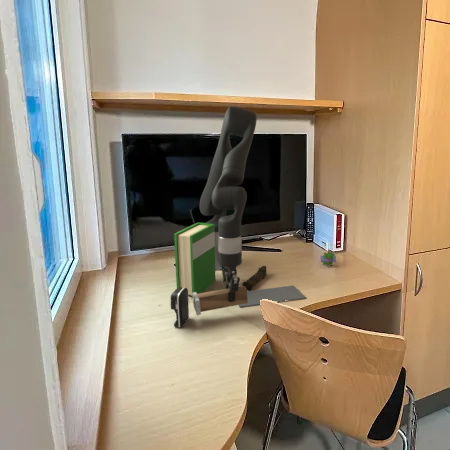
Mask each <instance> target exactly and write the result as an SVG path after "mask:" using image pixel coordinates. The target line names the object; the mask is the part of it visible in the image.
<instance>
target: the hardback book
mask: <svg viewBox="0 0 450 450" xmlns="http://www.w3.org/2000/svg"><path fill="white" fill-rule="evenodd" d="M173 239H174V241H173V242H174V259H175V261H174V262H175V275H176V276H175V277H176V279H175V281H176V282H175V283H176V289H177V288H187V289H188V296H192V297H191V299H193V294H192V293H193V292H196V293H197V294H200V293H204V291H205V290H206V289H208V288H209V287H211V285H212V284H213V283H215V282H216V270H215V232H214V224H208V223H206V222H196V223H194V224H192V225H190V226H186V227H185V228H183V229H181V230H179V231H177V232H175V233H173Z"/></svg>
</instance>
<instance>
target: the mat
mask: <svg viewBox="0 0 450 450" xmlns="http://www.w3.org/2000/svg"><path fill="white" fill-rule="evenodd" d="M305 298H306V299H307V297H306V296H305V295H304V294H303V293H302V292H301V291H300V290H299V289H298V288H297V287H296V286H295V285H287V286H278V287H269V288H263V289H251V291H247V301H248V303H245V304H240V305H238V306H239V308H246V307H255V306H261V305H260V300H262V299H268V300H272V301H278V303H281V302H280V301H285V300H293V301H295V300H294V299H300V300H306V299H305Z"/></svg>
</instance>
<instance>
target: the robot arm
mask: <svg viewBox="0 0 450 450" xmlns="http://www.w3.org/2000/svg"><path fill="white" fill-rule="evenodd" d="M257 120H258V119H257V114H256V112H254V111H252V110H248V109H246V108H241V107H238V106H233V105H231V106H228V108H227V109H226V111H225V114H224V116H223V122H222V127H221V129H220V135H219V140H218V144H217V147H216V150H215V153H214V157H213V160H212V162H211V167H210V170H209V175H208V178H207V182H206V184H205V187H204V189H203V191H202V194H201V196H200V200H199V210H200V211H199V212H200V213H201V214H202V215H203V216H206V217H207V216H213V217H212V219H210V220H208V221H206V222H205V223H208V224H214V232H215V271H220V270H221V272H222V282H223V283H224V284H223V285H224V287H225V288H224V289H228V301H229V302H235V292H237V291H238V287H239V286H240V279H241V278H240V277H239V276H238V275H239V274H238V269H237V267H238V266H240V265H241V264H242V261H243V253H242V252H243V251H242V250H243V247H242V246H243V243H242V220H243V219H242V218H243V214H244V210H245V206H246V204H247V199H248V195H247V191H246V189H245V188H244V187H243V186H240V185H242V183H243V182H244V178H245V171H246V164H247V159H248V156H249V152H250V149H251V145H252V142H253V139H254V135H255V132H256V130H255V129H256V125H257ZM230 135H233V136H237V137H240V138H242V139H241V141H240V142H239V143H238V144H237V145H236V146H234V147H233V146H232V145H231V144H232V143H231V140H230ZM227 210H233V213H232V214H230V215H227Z"/></svg>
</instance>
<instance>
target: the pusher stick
mask: <svg viewBox="0 0 450 450" xmlns="http://www.w3.org/2000/svg"><path fill="white" fill-rule="evenodd" d="M192 294H193V298H192V303H193V308H194V311H195V314H196V315H197V316H199V315H201V314H202V313H204V312H208V311H215V310H218V309H224V308H229V307H234V306H239V305H240V304H245V303H248V301H247V289H246V287H245V286H242V285H241V286H240V285H239V287H238V291H237V292H235V302H229V301H228V289H225V288H223V289H218V290H217V289H216V290H211V291H206V292H202V293H200V294H197V293H196V292H193V293H192Z"/></svg>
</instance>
